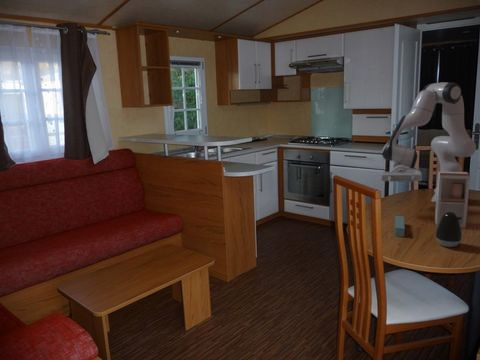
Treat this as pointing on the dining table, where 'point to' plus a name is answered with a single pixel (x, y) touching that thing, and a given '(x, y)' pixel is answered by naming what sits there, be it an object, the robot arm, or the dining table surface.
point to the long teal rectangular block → (399, 226)
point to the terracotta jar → (456, 190)
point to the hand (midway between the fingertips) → (401, 180)
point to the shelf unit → (444, 196)
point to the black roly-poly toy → (449, 230)
